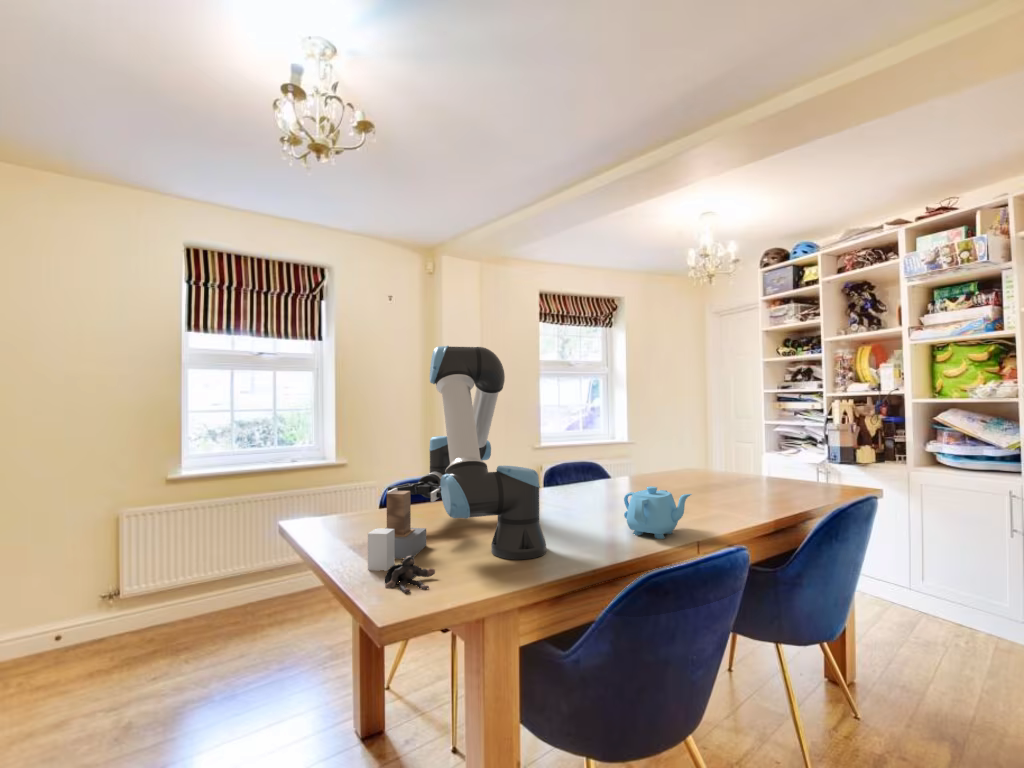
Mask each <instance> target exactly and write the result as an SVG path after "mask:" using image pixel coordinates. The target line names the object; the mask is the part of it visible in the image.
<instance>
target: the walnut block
mask: <svg viewBox="0 0 1024 768" xmlns="http://www.w3.org/2000/svg"><path fill="white" fill-rule="evenodd" d="M411 507H412V506H411V494H410V491H392V492H390V493H388V494H387V493H386V527H387V529H395V534H397V535H404V534H406V533H407V532H409V531H410V530H411V528H412V527H411V526H412V525H411V523H412V522H411V521H412V520H411V518H412V517H411V512H412V511H411Z"/></svg>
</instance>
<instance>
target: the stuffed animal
mask: <svg viewBox="0 0 1024 768" xmlns="http://www.w3.org/2000/svg"><path fill="white" fill-rule="evenodd" d="M415 561H416V560H415V556H414V557H413V556H406V557H405V558H404V559H403V560H402V561H401V563H398V564H394V565H393V566H392V567H391V568H390V569H388V570H387V572H386V574H385V575H384V584H385V583H386V584H385V589H395V588H396V587H398V590H400V591H401V592H402V593H404V592H405V594H408V593H407V592H409V593H410V592H411V589H410V588H409V587H407V586H406V585H407V584H408V583H410V584H409V585H411V584H413V585H412V586H415V585H417V586H416V587H417V588H418V587H419V588H418V589H420V588H422V589H421V590H428V589H429V588H430V587H429V585H428V584H426V585H425V584H424V582H422V581H421V580H417V579H416V580H415V579H413V577H414V576H415V577H416V576H417V577H418V578H419V577H420V578H422V577H423V578H430V577H432V576H433V575H435V573H436V570H435V569H434V568H432V567H431V568H428V569H427V568H423V569H422V567H420V566H418V565H415V563H416V562H415ZM415 577H414V578H415ZM399 581H400V582H399ZM405 586H406V587H405ZM394 587H395V588H394ZM427 588H428V589H427Z"/></svg>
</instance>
